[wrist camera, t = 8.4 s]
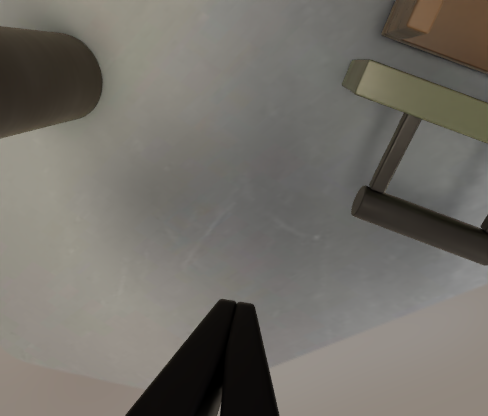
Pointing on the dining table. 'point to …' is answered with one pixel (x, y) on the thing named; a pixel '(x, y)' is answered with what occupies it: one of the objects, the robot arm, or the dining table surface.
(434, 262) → the dining table surface
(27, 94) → the pepper mill
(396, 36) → the drawer
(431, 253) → the dining table surface
